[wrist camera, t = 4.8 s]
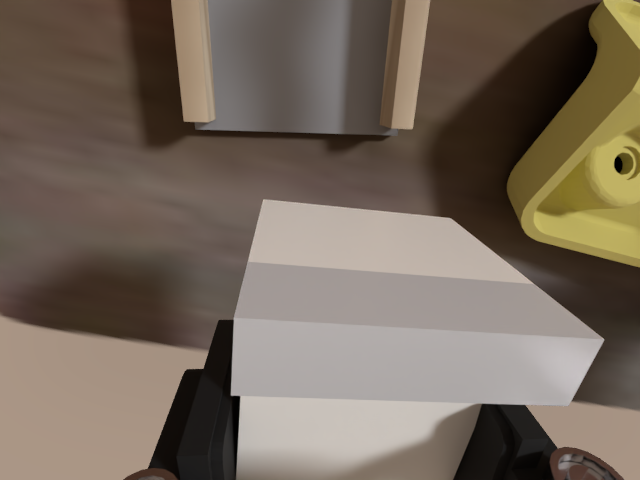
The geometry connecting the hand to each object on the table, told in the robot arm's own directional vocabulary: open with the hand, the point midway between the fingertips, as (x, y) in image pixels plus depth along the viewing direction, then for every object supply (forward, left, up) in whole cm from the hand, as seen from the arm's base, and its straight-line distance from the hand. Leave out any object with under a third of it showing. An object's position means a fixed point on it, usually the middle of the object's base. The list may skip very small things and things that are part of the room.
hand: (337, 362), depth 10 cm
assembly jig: (+1, -11, -11) cm, 15 cm away
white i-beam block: (0, 0, -1) cm, 1 cm away
